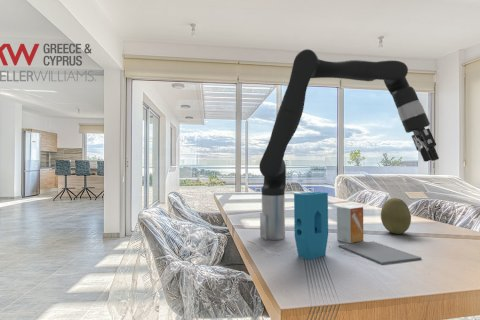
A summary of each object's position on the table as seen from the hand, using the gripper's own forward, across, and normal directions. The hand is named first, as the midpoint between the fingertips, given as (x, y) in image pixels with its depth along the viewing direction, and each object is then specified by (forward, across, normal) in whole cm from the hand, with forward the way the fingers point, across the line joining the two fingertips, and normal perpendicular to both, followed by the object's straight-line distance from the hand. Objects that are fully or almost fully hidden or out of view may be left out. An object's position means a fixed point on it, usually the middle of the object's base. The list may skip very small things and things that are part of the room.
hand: (431, 160), depth 99 cm
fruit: (+26, -25, -17) cm, 40 cm away
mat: (+23, +8, -27) cm, 36 cm away
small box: (+20, -7, -34) cm, 41 cm away
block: (+17, +17, -46) cm, 52 cm away
